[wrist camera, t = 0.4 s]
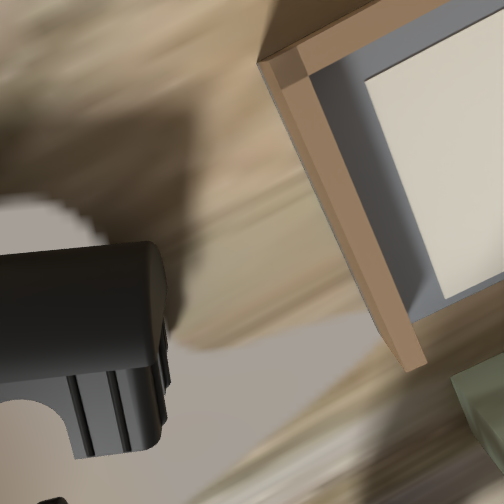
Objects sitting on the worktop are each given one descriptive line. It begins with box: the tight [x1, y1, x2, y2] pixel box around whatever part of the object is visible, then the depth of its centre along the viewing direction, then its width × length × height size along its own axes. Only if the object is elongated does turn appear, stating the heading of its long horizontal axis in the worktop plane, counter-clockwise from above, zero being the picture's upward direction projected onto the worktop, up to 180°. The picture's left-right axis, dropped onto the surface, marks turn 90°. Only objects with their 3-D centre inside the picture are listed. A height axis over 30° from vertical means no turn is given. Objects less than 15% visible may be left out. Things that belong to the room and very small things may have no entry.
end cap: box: [0, 241, 171, 459], centre depth 18 cm, size 10×7×7 cm
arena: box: [256, 0, 504, 373], centre depth 19 cm, size 14×14×4 cm
